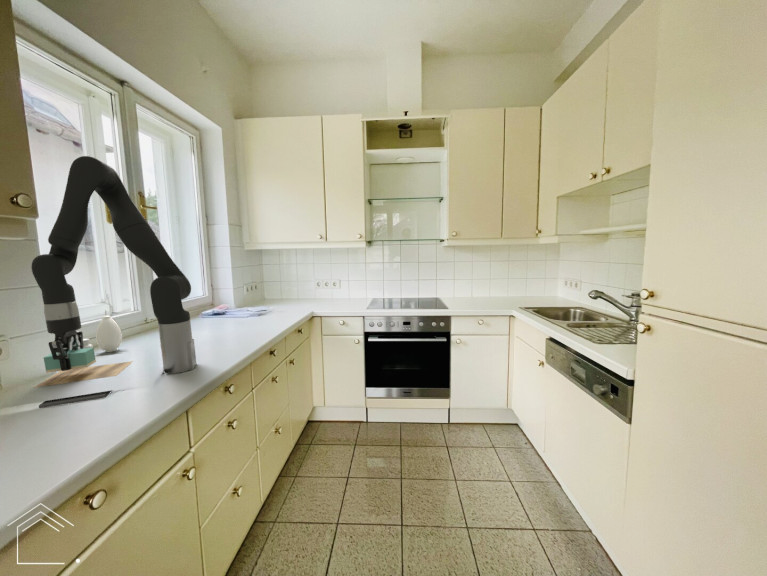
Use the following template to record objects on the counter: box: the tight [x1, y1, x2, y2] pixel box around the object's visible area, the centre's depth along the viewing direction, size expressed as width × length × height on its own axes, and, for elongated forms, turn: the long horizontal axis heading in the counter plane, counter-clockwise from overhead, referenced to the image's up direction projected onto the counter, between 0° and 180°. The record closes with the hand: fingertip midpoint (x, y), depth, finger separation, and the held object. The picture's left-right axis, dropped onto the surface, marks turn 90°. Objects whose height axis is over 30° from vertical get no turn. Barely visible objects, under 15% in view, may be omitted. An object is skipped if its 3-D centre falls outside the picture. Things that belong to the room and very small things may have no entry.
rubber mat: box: [38, 390, 114, 409], centre depth 88 cm, size 14×10×1 cm
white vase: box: [95, 309, 123, 353], centre depth 127 cm, size 8×8×18 cm
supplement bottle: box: [83, 338, 94, 349], centre depth 112 cm, size 5×5×10 cm
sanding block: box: [43, 347, 97, 374], centre depth 99 cm, size 10×6×5 cm, turn 113°
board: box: [33, 360, 134, 388], centre depth 101 cm, size 20×14×2 cm
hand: (71, 366), depth 99 cm, fingers closed on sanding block, 5 cm apart
